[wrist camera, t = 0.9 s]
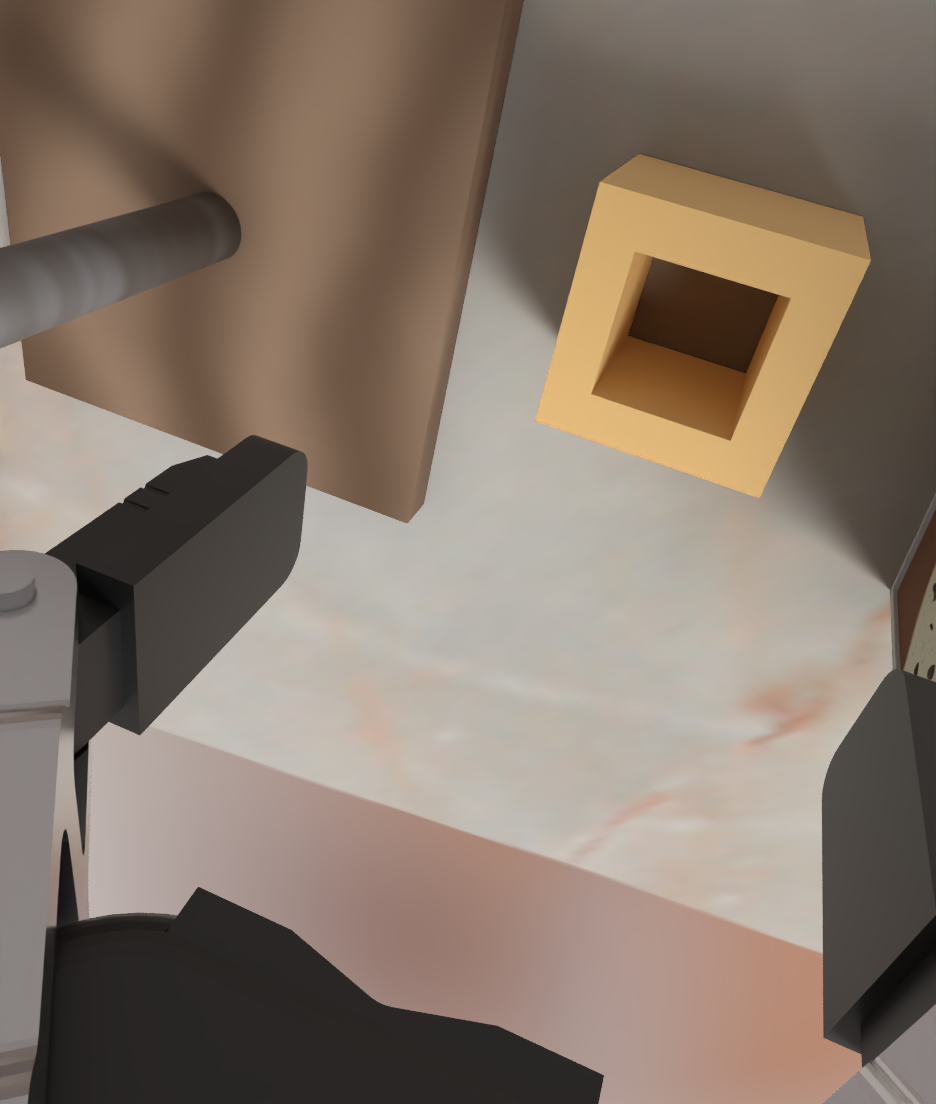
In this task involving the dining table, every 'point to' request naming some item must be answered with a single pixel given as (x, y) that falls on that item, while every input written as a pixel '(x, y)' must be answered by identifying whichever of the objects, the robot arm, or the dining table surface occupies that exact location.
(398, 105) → the needle stand
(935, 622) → the food container
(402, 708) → the dining table surface
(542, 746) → the dining table surface
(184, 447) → the dining table surface
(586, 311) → the tan hollow square block
